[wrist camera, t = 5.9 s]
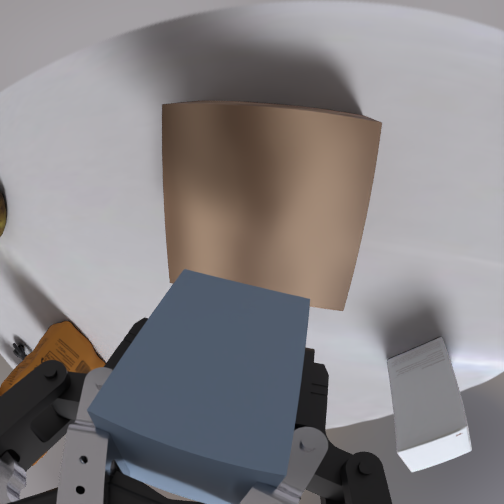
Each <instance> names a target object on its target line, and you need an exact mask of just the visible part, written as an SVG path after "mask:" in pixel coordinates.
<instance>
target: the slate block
mask: <svg viewBox="0 0 504 504" xmlns="http://www.w3.org/2000/svg"><path fill="white" fill-rule="evenodd" d="M309 307H310V299H308V298H304V297H300V296H295V295H291V294H286V293H282V292H278V291H273V290H269V289H265V288H261V287H256V286H252V285H248V284H244V283H240V282H235V281H231V280H227V279H223V278H219V277H215V276H211V275H207V274H203V273H199V272H195V271H191V270H187V269H184V270H183V271H182V273H181V274H180V275H179V277H178V278H177V280H176V281H175V282H174V284H173V285H172V286H171V288H170V289H169V291H168V292H167V293H166V295H165V296H164V297H163V299H162V300H161V302H160V303H159V304H158V306H157V307H156V309H155V310H154V312H153V313H152V314H151V316H150V317H149V319H148V320H147V321H146V323H145V324H144V326H143V327H142V329H141V330H140V331H139V333H138V334H137V336H136V337H135V339H134V340H133V342H132V343H131V344H130V346H129V347H128V349H127V350H126V352H125V353H124V355H123V356H122V358H121V359H120V361H119V362H118V364H117V365H116V366H115V368H114V369H113V371H112V372H111V374H110V375H109V377H108V378H107V380H106V381H105V383H104V384H103V386H102V387H101V389H100V391H99V392H98V394H97V395H96V397H95V398H94V400H93V401H92V403H91V404H90V406H89V407H88V409H87V412H88V414H89V416H90V418H91V420H92V421H93V423H94V425H95V427H97V428H99V429H102V430H105V431H107V432H109V433H110V435H111V437H112V439H113V441H114V443H115V444H116V446H117V448H118V450H119V452H120V454H121V456H122V458H123V460H124V461H125V463H126V465H127V467H128V469H129V470H130V477H132V478H134V479H137V480H139V481H141V482H144V483H146V484H149V485H151V486H154V487H157V488H160V489H162V490H165V491H168V492H170V493H174V494H177V495H179V496H183V497H186V498H189V499H192V500H195V501H198V502H202V503H205V504H239V503H240V502H241V501H242V500H243V498H244V497H245V496H246V495H247V493H248V492H249V491H250V489H251V488H252V487H253V486H254V484H255V483H256V482H257V481H258V482H262V483H265V484H269V485H272V486H276V487H278V486H279V484H280V483H281V482H282V481H283V479H284V478H285V477H286V475H287V469H288V463H289V458H290V452H291V446H292V440H293V434H294V427H295V421H296V414H297V407H298V400H299V393H300V386H301V378H302V370H303V362H304V354H305V345H306V336H307V327H308V317H309Z"/></svg>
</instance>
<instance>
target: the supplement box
mask: <svg viewBox="0 0 504 504" xmlns="http://www.w3.org/2000/svg"><path fill="white" fill-rule="evenodd" d="M387 365H388V372H389V379H390V387H391V395H392V403H393V411H394V421H395V432H396V445H397V453H398V455H399V456H400V457H401V459H402V460H403V461H404V463H405V464H406V465H407V467H408V468H409V469H410V471H411V472H414V471H418V470H421V469H425V468H428V467H431V466H434V465H437V464H440V463H442V462H445V461H448V460H450V459H453V458H456V457H458V456H460V455H463V454H465V453H468V452H470V451H471V450H472V448H471V441H470V435H469V429H468V424H467V419H466V414H465V410H464V406H463V402H462V398H461V394H460V391H459V387H458V384H457V380H456V377H455V374H454V371H453V367H452V364H451V361H450V358H449V355H448V352H447V349H446V346H445V344H444V341H443V338H442V337H440V338H437V339H435V340H433V341H430V342H428V343H426V344H424V345H421V346H419V347H417V348H414V349H412V350H409V351H407V352H405V353H402V354H400V355H397V356H395V357H393V358H390V359H388V360H387Z"/></svg>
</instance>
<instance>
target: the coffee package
mask: <svg viewBox="0 0 504 504" xmlns="http://www.w3.org/2000/svg"><path fill="white" fill-rule="evenodd" d="M47 360H57V361H60V362H61V363H63V364H64V366H65V367H66V370H67V371H70V372H77V373H85V374H88V373H89V372H90V371H91V370H93V369H96V368H99V367H104V366H105V364H106V363H105V362H104V361H102V360H101V359H100V358H99V357H98V356H97V355H96V353H95V351H94V349H93V346H92V345H91V343H90V342H89V340H88V339H87V338H86V337H85V336H83V335H82V334H81V333H80V332H79V331H78V330H77V329H76V328H75V327H74V326H73V325H72V324H71V323H70V322H68V321H64V322H61V323H57V324H53V325H51V326H50V327H49V329H48V330H47V332H46V333H45V334H44V336H43V337H42V338H41V339H40V341H39V343H38V344H37V346H36V347H35V349H34V350H33V352H31V353H30V354H28V355H27V356H26V357H25V359H24V360H23V361H22V362H21V363H20V364H19V365H18V366H16V368H15V369H14V370H13V371H12V372H11V373H10V375H9V376H8V377H7V378H6V379H5V380H4V382H3V383H2V384H1V387H0V396H1V395H3V394H4V393H5V392H6V391H7V390H9V389H10V388H11V387H12V386H14V385H15V384H16V383H17V382H19V381H20V380H21V379H22V378H24V377H25V376H26V375H27V374H28V373H30V372H31V371H32V370H34V369H35V368H36V367H37V366H39V365H40V364H41V363H43V362H45V361H47ZM46 453H47V452H46ZM44 455H45V454H44ZM44 455H43V456H44ZM43 456H42V457H43ZM42 457H41V458H42ZM37 461H38V460H37ZM37 461H36V462H35V463H34V464H36V463H37ZM34 464H33V465H34ZM33 465H32V466H33Z"/></svg>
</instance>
